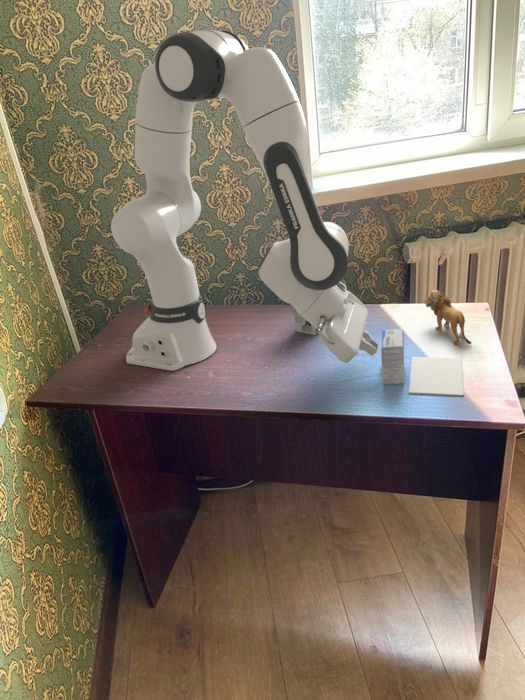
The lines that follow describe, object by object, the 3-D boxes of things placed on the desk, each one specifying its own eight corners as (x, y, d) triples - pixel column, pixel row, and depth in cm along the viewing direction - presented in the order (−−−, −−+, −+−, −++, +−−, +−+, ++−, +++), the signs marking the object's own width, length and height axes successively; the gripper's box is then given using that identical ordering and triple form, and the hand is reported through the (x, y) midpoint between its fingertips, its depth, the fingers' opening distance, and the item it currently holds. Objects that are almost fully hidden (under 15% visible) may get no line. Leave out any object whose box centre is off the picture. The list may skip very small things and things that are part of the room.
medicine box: (404, 384, 108) (404, 346, 104) (382, 384, 109) (381, 347, 105) (403, 364, 115) (403, 328, 111) (382, 364, 116) (381, 329, 112)
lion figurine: (420, 325, 130) (420, 290, 126) (438, 319, 131) (439, 285, 127) (461, 349, 117) (463, 311, 113) (481, 342, 119) (484, 305, 115)
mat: (408, 393, 105) (408, 392, 105) (412, 358, 117) (412, 356, 116) (463, 396, 102) (463, 394, 102) (460, 359, 114) (461, 358, 113)
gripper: (326, 319, 98) (381, 367, 100) (342, 278, 115) (389, 319, 117) (304, 340, 102) (358, 386, 103) (323, 297, 119) (369, 337, 120)
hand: (375, 350), depth 110 cm, fingers closed
